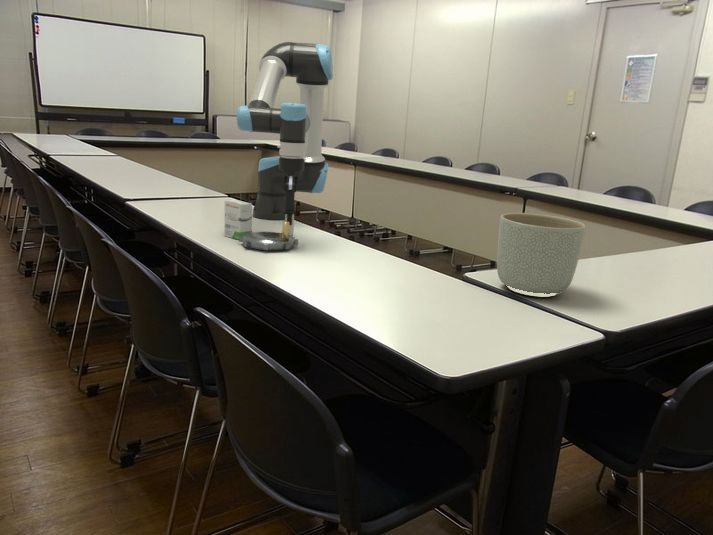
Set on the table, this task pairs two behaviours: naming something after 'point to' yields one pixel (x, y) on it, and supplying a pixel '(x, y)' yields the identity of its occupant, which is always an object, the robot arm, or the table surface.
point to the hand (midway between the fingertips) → (288, 234)
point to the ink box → (237, 218)
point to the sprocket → (270, 239)
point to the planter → (538, 251)
